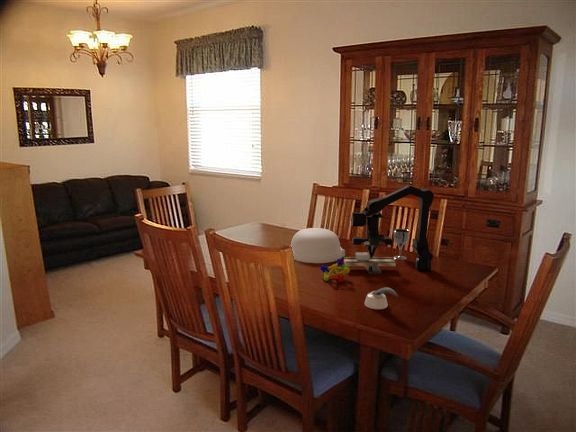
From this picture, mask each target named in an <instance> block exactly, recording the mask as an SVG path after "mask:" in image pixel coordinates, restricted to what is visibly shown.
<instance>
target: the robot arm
mask: <svg viewBox="0 0 576 432" xmlns="http://www.w3.org/2000/svg"><path fill="white" fill-rule="evenodd" d="M410 195H411V196H414V197H417V202H418V206H419V211H418V212H419V213H418V221H417V222H418V223H417V235H416V237H415V238H412V245H411V248H412V249H413V251H414V252H415V253H416V259H415V264H414V265H415V269H416V270H417V271H418V272H432V271H433V270H432V261H433V258H434V255H433V254H432V253H431V252H430V246H429V240H428V228H429V218H430V208H431V207H432V205H433V201H434V198H435V194H434V192H433V191H431V190H430V189H428V188H425V187H424V188H418V187H415V186H412V185H410V184H406V185H405V186H403V187H401V188H400V189H397V190H395V191H393V192H391V193H389V194H386V195H384V196H382V197H377V198H373V199H370V200H369V201H367V203H366V206H365V207H364V208H363V210H362V211H361V212H355V211H353V212H352V213H351V217H350V226H351V227H352V228H353V227H354V228H355V227H359V228H360V227H365V226H366V233H365V238H362V236H354V235H353V236H352V238H351V243H352V245H354V246H355V245H356V246H360V245H362V243H363V245H364V246H365V247H366V248H367V251H368V254H369V256H370V258H372V257H373V256H374V254H375V253H376V250H377V248H378V247H379V248H380V247H381V243H384V245H386V246H392V245H393V241H394V240H393V239H392V238H391V237H390V236H385V234H380V233H379V229H380V228H379V226H380V219H384V215H383V214H382V213H381V212H382V211H383V210H384V209H385V208H386V207H387V206H389V205H391V204H392V203H395V202H396V201H400V200H401V199H403V198H405V197H408V196H410Z"/></svg>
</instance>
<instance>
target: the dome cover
mask: <svg viewBox="0 0 576 432" xmlns="http://www.w3.org/2000/svg"><path fill="white" fill-rule="evenodd" d="M290 246H291V247H292V251H293V256H294V259H293V261H297V262H301V263H307V264H325V263H333V262H337V259H341V260H342V259H343V258H344V257H346V250H345V249H344V248H342V247H341V243H340V239H339V236H338V235H337V234H336V233H335V232H333V231H332V230H330V229H327V228H320V227H310V228H309V227H308V228H303V229H301V230H298V231H297V232H296V233H295V234H294V235H293V237H292V239H291V243H290Z"/></svg>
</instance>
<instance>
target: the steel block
mask: <svg viewBox="0 0 576 432" xmlns="http://www.w3.org/2000/svg"><path fill="white" fill-rule="evenodd" d="M369 256H370V255H369V251H368V252H366V251H365V252H364V251H363V252H360V251H359V252H356V251H355V256H354V257H355V260H356V261H369Z"/></svg>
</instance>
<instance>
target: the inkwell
mask: <svg viewBox="0 0 576 432" xmlns="http://www.w3.org/2000/svg"><path fill="white" fill-rule="evenodd" d="M385 294H391V295H393V296H395V297H397V298H399V294H398V293H397V292H396V290H394V289H392V288H390V287H381V288H379V289H377V290H373V291H371V292H368V293H367V294H366V297H365V300H364V306H365V307H366V308H369V309H372V310H384V309H386V308H387V307H388V305H389V304H388V300H387V296H386V295H385Z"/></svg>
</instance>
